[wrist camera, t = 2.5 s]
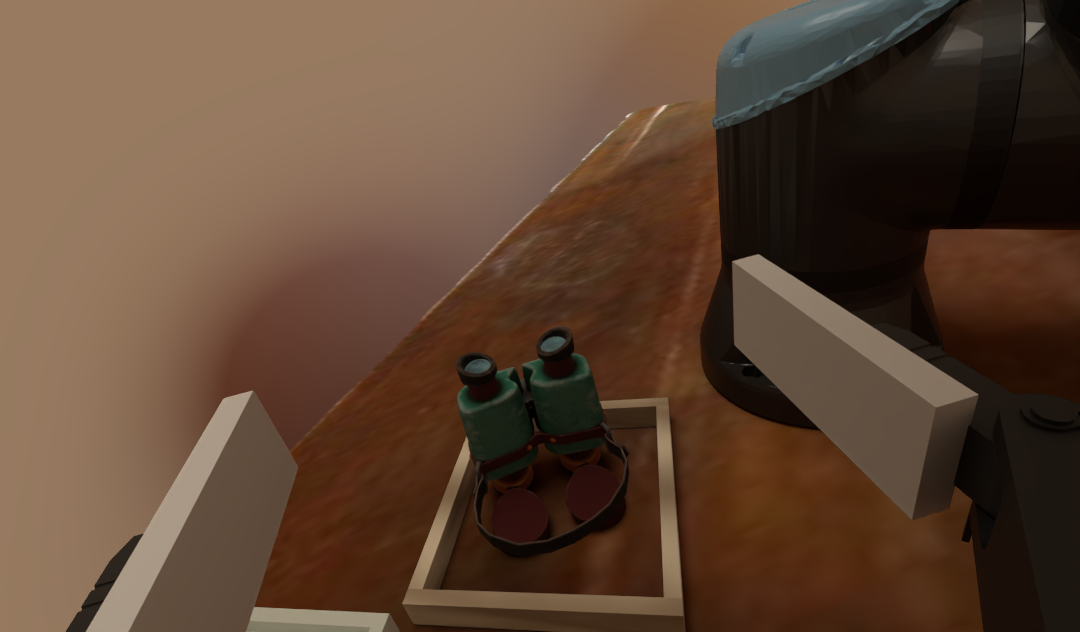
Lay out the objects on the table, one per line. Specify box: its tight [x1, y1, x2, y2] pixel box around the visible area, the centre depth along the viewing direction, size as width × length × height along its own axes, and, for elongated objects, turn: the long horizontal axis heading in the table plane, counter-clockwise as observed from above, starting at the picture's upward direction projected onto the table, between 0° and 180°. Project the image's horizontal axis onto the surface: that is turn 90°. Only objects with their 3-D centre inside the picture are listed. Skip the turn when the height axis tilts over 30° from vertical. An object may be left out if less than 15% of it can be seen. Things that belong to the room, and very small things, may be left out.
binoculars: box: [455, 326, 629, 556], centre depth 29 cm, size 9×11×10 cm
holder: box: [402, 398, 686, 632], centre depth 31 cm, size 15×14×2 cm
